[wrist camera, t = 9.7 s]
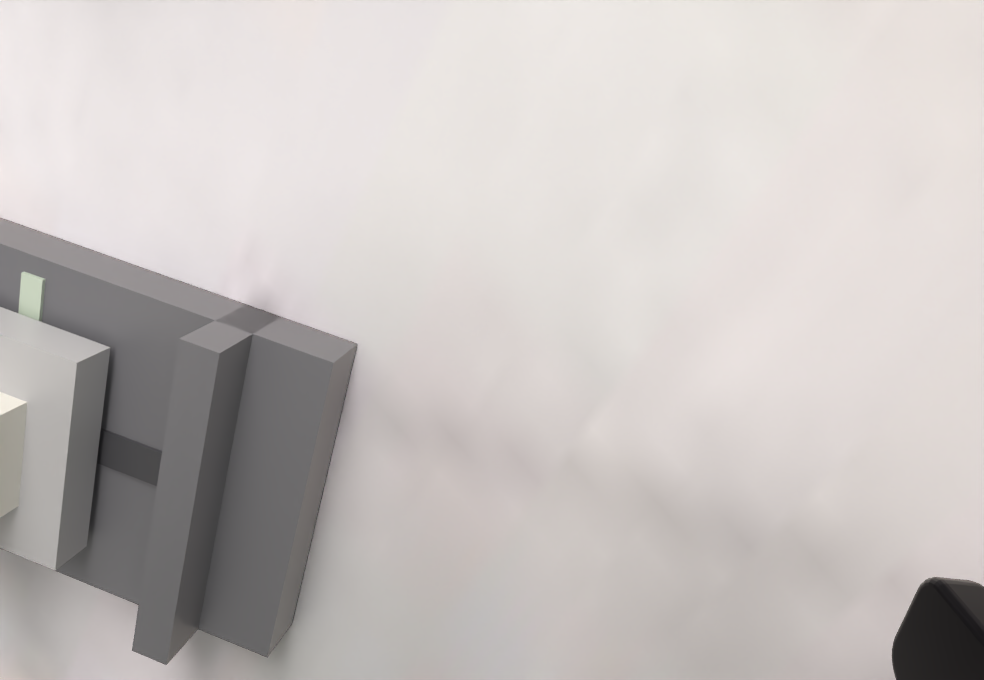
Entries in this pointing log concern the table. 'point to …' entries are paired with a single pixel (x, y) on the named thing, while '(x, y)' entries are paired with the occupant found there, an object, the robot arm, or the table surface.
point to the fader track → (191, 442)
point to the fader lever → (48, 437)
